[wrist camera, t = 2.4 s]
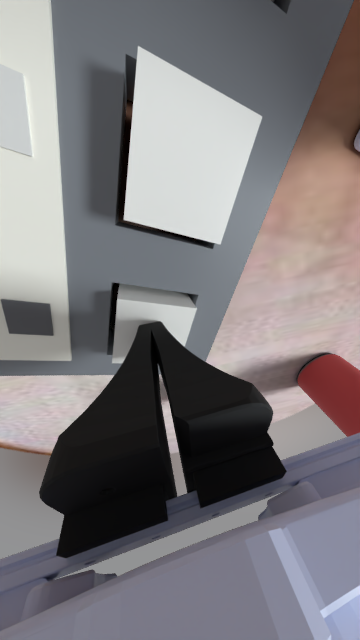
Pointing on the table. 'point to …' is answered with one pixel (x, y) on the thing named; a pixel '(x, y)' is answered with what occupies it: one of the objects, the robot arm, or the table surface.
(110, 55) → the button board
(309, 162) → the table surface
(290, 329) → the table surface
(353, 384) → the beer can
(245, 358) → the table surface
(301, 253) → the table surface
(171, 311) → the key
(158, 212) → the key middle
